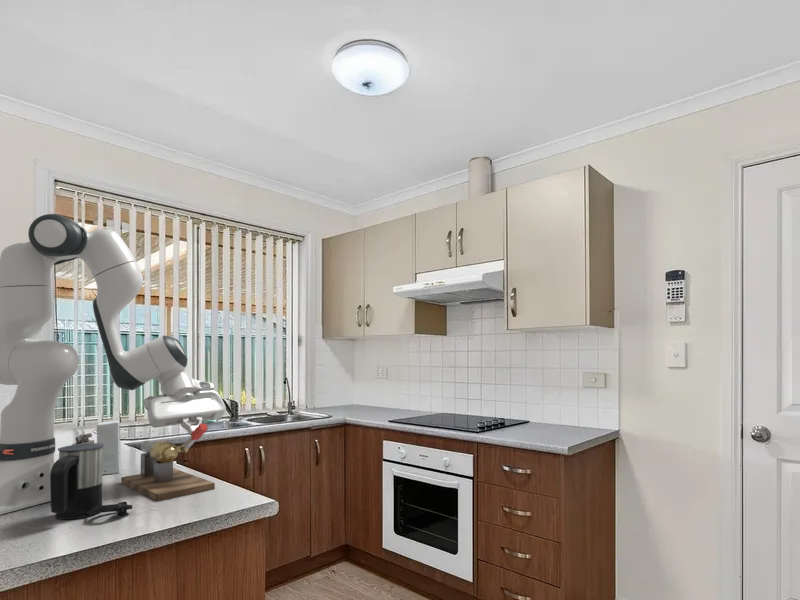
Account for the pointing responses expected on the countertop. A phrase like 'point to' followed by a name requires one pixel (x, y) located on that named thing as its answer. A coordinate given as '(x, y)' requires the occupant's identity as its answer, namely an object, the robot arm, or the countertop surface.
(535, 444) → the countertop surface
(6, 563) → the countertop surface
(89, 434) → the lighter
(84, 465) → the milk frother
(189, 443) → the valve lever
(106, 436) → the skincare box
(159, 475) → the valve rig
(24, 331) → the robot arm
